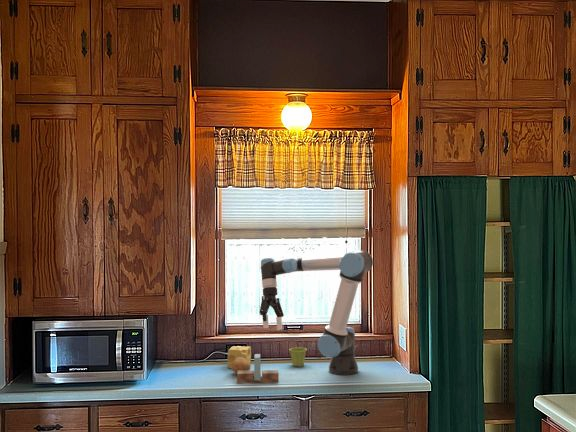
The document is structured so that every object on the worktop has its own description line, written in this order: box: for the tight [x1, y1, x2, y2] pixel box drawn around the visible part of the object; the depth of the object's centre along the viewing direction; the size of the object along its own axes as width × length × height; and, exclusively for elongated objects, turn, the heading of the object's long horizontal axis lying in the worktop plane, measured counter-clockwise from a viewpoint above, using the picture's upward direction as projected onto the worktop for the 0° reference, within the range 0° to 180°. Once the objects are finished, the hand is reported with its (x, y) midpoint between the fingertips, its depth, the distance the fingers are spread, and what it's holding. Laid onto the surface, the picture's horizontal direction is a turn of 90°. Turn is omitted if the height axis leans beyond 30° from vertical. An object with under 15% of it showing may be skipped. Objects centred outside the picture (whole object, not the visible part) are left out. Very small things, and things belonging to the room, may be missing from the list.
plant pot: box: [288, 347, 308, 368], centre depth 353 cm, size 9×9×9 cm
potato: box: [231, 357, 251, 375], centre depth 335 cm, size 10×14×8 cm
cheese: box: [227, 345, 252, 369], centre depth 352 cm, size 10×11×10 cm
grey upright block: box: [253, 353, 262, 380], centre depth 321 cm, size 8×3×11 cm, turn 1°
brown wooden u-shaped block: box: [236, 369, 280, 384], centre depth 321 cm, size 20×6×4 cm, turn 91°
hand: (273, 328), depth 336 cm, fingers open, 13 cm apart
